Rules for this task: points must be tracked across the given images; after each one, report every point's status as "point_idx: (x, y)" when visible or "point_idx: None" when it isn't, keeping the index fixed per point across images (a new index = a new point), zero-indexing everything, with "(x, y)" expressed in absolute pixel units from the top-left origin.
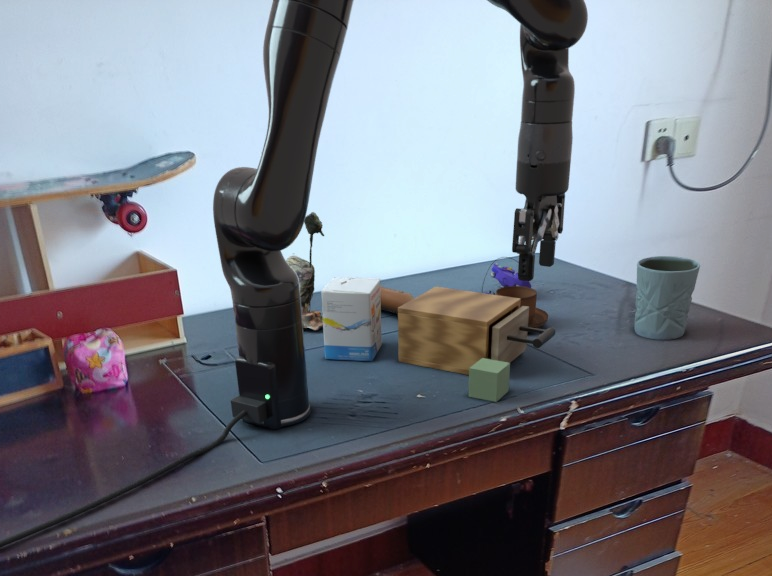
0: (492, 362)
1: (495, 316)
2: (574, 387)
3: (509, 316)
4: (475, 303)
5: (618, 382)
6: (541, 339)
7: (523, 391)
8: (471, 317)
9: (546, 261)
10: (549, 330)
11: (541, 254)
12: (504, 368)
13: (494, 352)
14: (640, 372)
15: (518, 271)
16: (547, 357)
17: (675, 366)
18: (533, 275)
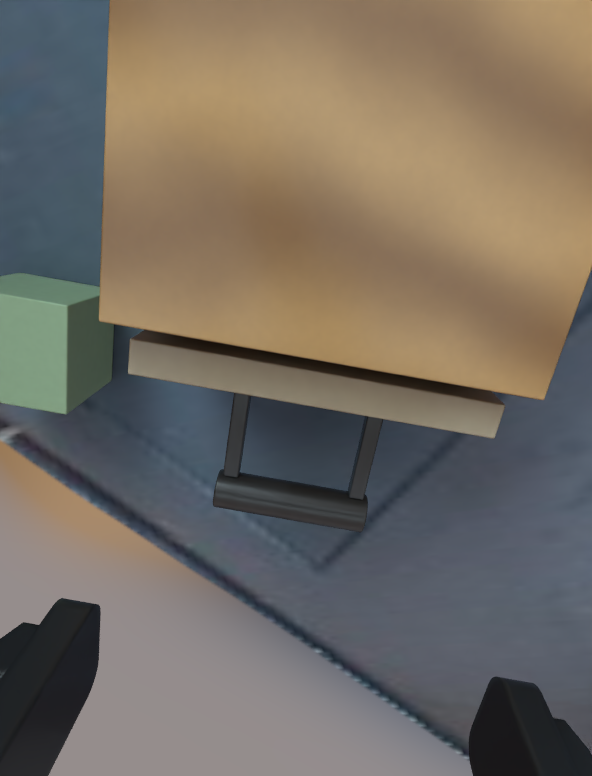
0: (39, 355)
1: (203, 339)
2: (214, 537)
3: (313, 380)
4: (395, 161)
5: (287, 626)
6: (226, 507)
7: (132, 419)
8: (128, 217)
9: (491, 747)
10: (326, 521)
11: (528, 769)
12: (17, 404)
13: None
14: (372, 665)
15: (27, 642)
16: (430, 436)
17: (436, 727)
18: (77, 710)
